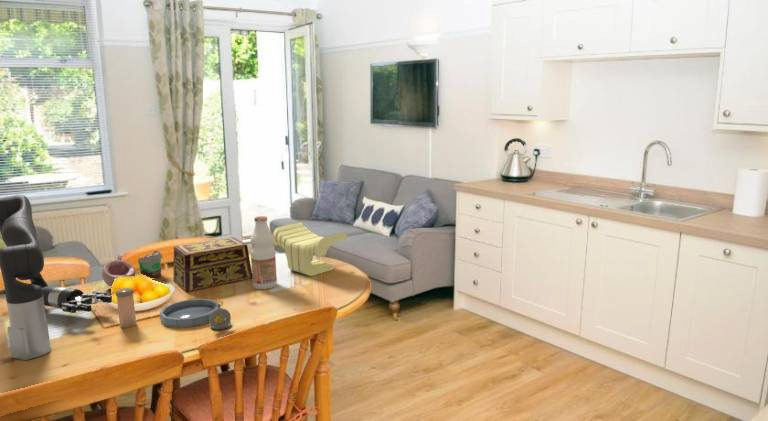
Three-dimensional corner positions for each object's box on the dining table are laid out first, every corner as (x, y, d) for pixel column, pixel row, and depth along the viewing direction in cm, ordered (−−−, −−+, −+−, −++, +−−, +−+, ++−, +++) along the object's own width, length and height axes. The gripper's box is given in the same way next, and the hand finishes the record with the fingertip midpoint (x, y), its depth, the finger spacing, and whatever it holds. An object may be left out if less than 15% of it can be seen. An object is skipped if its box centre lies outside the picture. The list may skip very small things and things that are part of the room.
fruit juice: (248, 288, 226) (243, 218, 220) (262, 280, 234) (257, 214, 229) (268, 290, 222) (263, 220, 217) (281, 283, 231) (277, 215, 225)
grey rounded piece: (223, 321, 193) (221, 292, 191) (238, 326, 188) (236, 298, 186) (202, 328, 187) (199, 299, 185) (217, 335, 182) (214, 305, 180)
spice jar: (128, 329, 188) (124, 294, 186) (115, 327, 190) (111, 292, 187) (140, 323, 193) (136, 289, 190) (128, 321, 195) (124, 287, 192)
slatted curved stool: (274, 267, 252) (272, 228, 248) (302, 259, 263) (301, 222, 260) (318, 281, 232) (317, 239, 228) (347, 272, 243) (346, 232, 239)
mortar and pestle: (113, 294, 221) (110, 266, 219) (98, 288, 229) (94, 261, 226) (142, 286, 231) (139, 258, 228) (126, 280, 238) (123, 254, 236)
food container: (153, 282, 235) (150, 258, 233) (139, 281, 237) (137, 258, 235) (170, 273, 247) (167, 250, 245) (157, 272, 248) (154, 250, 246)
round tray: (194, 330, 186) (194, 322, 185) (148, 323, 193) (147, 315, 192) (230, 309, 203) (229, 302, 203) (186, 303, 210) (186, 296, 210)
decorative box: (186, 293, 222) (182, 255, 219) (173, 281, 237) (169, 246, 234) (253, 279, 237) (250, 244, 234) (237, 268, 252) (234, 235, 249)
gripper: (46, 295, 193) (82, 300, 187) (81, 282, 206) (116, 286, 200) (49, 316, 194) (85, 322, 188) (84, 301, 207) (118, 307, 201)
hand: (101, 304), depth 194 cm, fingers open, 8 cm apart
